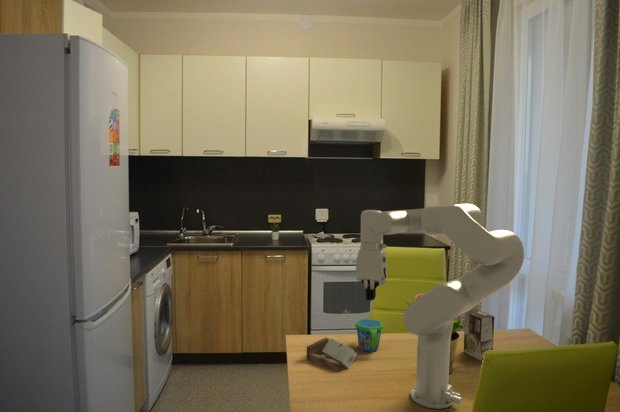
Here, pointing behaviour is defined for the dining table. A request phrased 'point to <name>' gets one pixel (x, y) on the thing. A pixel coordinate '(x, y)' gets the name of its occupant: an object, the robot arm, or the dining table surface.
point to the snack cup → (368, 334)
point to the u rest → (315, 356)
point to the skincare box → (339, 352)
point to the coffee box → (478, 333)
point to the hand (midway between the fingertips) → (370, 299)
